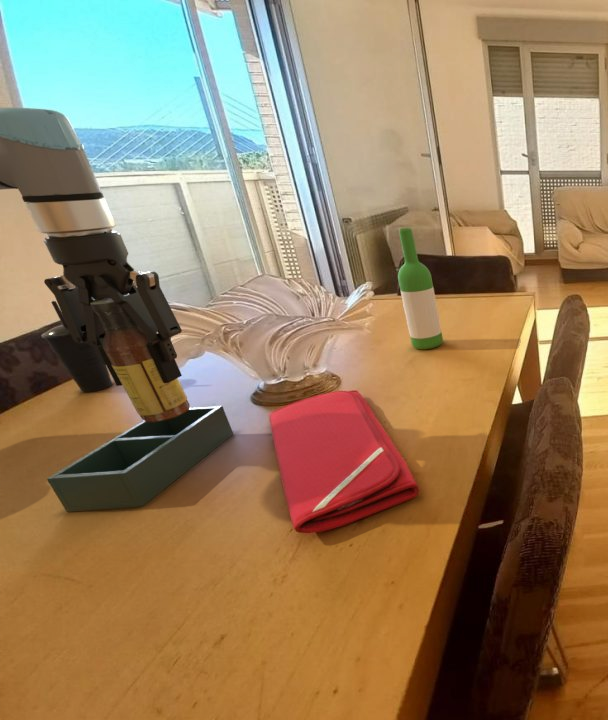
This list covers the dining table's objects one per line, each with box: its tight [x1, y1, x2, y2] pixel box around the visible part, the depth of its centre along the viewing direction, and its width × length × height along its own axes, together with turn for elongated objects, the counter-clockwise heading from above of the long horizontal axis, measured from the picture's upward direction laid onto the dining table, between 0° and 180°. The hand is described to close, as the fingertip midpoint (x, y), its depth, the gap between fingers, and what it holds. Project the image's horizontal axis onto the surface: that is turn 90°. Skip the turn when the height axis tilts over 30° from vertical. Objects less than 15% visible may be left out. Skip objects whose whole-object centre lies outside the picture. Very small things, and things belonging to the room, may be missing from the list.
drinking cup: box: [41, 300, 113, 393], centre depth 102 cm, size 8×8×20 cm
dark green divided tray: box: [46, 405, 234, 513], centre depth 75 cm, size 10×20×6 cm, turn 5°
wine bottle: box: [397, 227, 444, 351], centre depth 119 cm, size 8×8×30 cm
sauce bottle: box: [90, 298, 191, 423], centre depth 74 cm, size 6×6×20 cm
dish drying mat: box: [268, 389, 419, 534], centre depth 78 cm, size 16×41×4 cm, turn 38°
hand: (149, 380), depth 75 cm, fingers closed on sauce bottle, 6 cm apart
